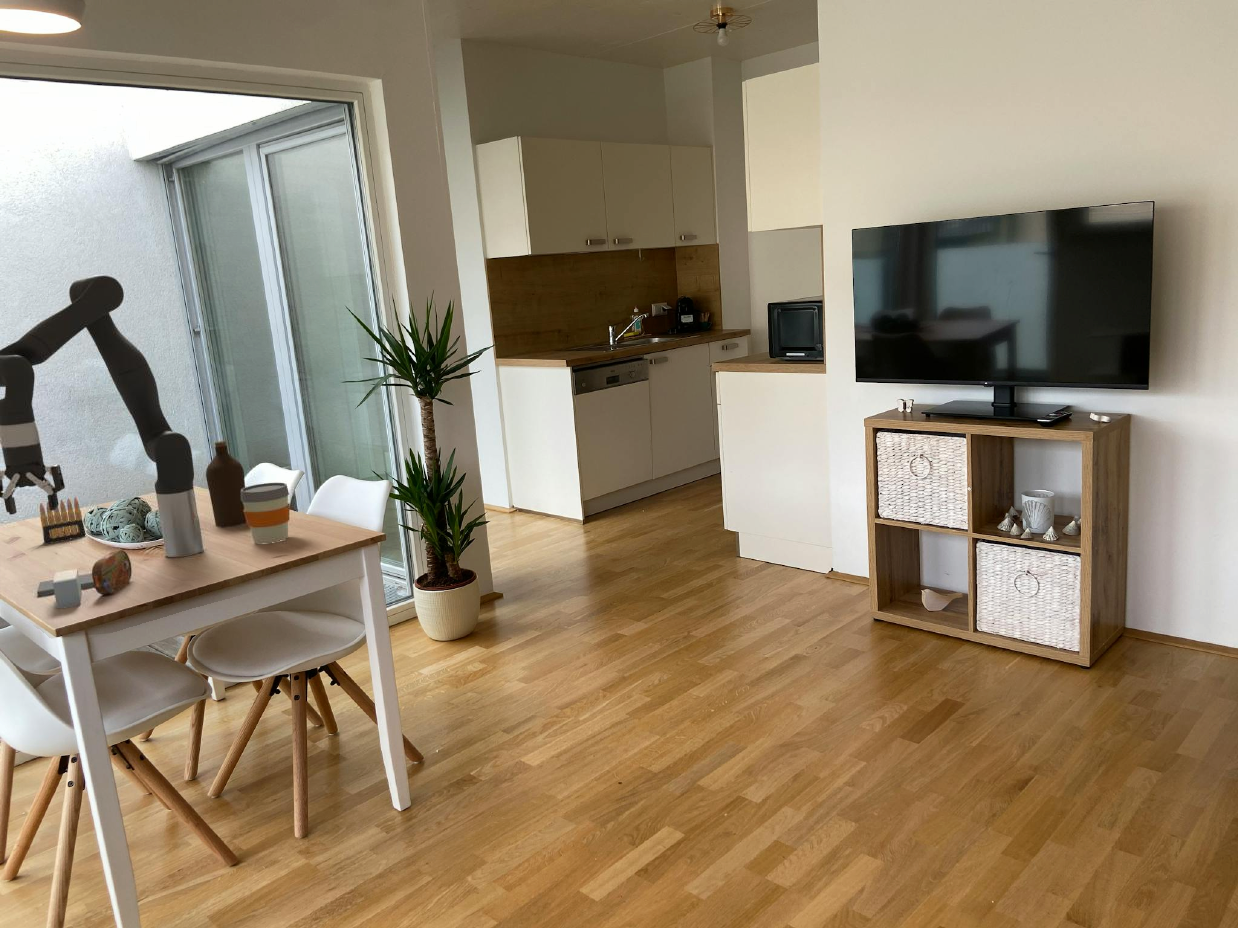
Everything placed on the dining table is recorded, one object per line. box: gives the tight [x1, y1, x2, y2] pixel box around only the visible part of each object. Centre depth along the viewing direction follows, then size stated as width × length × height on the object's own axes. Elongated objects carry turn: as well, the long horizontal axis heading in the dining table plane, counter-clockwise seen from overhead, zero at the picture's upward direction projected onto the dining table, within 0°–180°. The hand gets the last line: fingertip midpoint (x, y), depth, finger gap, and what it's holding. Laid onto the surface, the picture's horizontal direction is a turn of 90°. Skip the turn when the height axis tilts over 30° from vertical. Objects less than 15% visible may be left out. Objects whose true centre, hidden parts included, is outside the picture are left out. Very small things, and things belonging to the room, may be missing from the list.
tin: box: [91, 549, 133, 596], centre depth 225 cm, size 15×3×8 cm, turn 5°
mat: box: [36, 572, 95, 598], centre depth 229 cm, size 13×9×1 cm
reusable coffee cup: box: [241, 482, 290, 544], centre depth 261 cm, size 13×13×15 cm
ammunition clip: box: [39, 497, 87, 544], centre depth 277 cm, size 11×2×12 cm, turn 128°
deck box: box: [53, 568, 83, 610], centre depth 217 cm, size 5×10×6 cm, turn 28°
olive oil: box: [205, 440, 247, 527], centre depth 284 cm, size 11×11×25 cm
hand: (33, 511), depth 218 cm, fingers open, 8 cm apart
